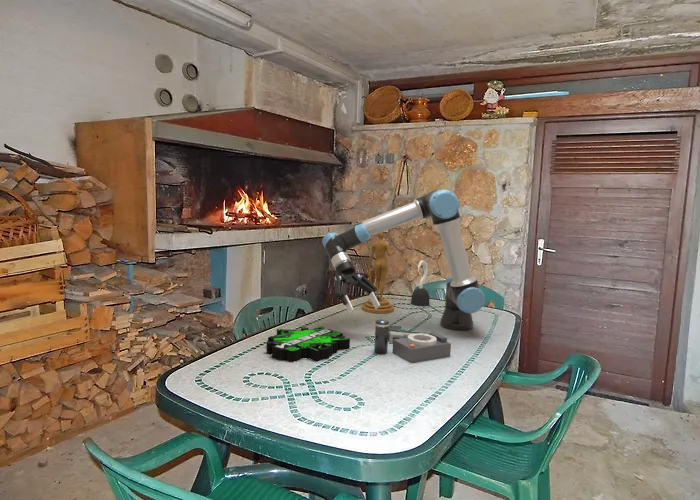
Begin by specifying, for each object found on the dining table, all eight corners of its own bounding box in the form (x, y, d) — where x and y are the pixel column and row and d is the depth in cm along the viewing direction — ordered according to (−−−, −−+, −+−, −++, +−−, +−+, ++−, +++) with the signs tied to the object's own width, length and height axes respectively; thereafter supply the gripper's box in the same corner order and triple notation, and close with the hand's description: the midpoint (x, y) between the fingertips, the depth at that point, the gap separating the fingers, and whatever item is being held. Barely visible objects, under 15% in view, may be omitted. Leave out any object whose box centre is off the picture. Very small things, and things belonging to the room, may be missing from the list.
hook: (425, 308, 251) (427, 262, 248) (406, 305, 257) (409, 260, 254) (433, 304, 260) (436, 260, 257) (415, 301, 266) (418, 258, 263)
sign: (305, 357, 158) (244, 338, 175) (305, 369, 159) (244, 349, 176) (360, 335, 185) (302, 321, 202) (359, 346, 185) (302, 331, 202)
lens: (382, 349, 182) (384, 318, 180) (390, 353, 177) (392, 322, 176) (371, 350, 179) (372, 319, 178) (378, 355, 175) (380, 323, 173)
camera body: (430, 346, 187) (431, 330, 186) (450, 356, 177) (451, 339, 176) (392, 352, 178) (393, 335, 178) (411, 362, 168) (412, 345, 167)
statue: (396, 307, 250) (400, 230, 246) (391, 315, 234) (395, 232, 229) (365, 304, 254) (368, 228, 249) (358, 311, 238) (362, 230, 233)
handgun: (435, 336, 202) (436, 347, 187) (384, 332, 206) (381, 342, 191) (436, 327, 202) (436, 337, 187) (385, 323, 205) (382, 332, 190)
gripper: (362, 269, 204) (383, 310, 194) (314, 273, 189) (334, 318, 179) (370, 258, 199) (393, 300, 189) (322, 262, 184) (344, 307, 174)
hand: (364, 309), depth 184 cm, fingers open, 13 cm apart
